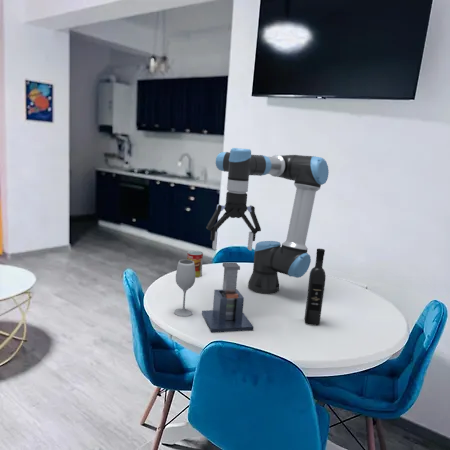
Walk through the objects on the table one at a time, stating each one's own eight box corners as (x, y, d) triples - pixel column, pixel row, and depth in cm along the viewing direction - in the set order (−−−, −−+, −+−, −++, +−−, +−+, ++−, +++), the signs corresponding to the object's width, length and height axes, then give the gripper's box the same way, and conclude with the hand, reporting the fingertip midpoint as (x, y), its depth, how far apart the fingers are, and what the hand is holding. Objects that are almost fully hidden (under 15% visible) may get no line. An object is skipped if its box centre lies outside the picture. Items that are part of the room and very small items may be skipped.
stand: (240, 312, 164) (242, 282, 161) (253, 330, 149) (256, 298, 146) (201, 314, 159) (203, 283, 157) (211, 332, 144) (213, 299, 142)
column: (231, 314, 157) (235, 262, 153) (235, 320, 152) (240, 266, 148) (218, 315, 155) (222, 262, 151) (222, 321, 150) (226, 266, 146)
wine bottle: (319, 326, 156) (329, 252, 151) (304, 324, 157) (314, 250, 151) (318, 320, 162) (327, 248, 156) (303, 318, 163) (312, 246, 157)
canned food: (185, 272, 208) (186, 250, 206) (200, 272, 210) (201, 250, 208) (187, 277, 200) (188, 254, 198) (202, 277, 202) (204, 254, 200)
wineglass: (196, 311, 162) (199, 260, 158) (188, 318, 155) (191, 266, 151) (178, 307, 164) (181, 257, 160) (170, 314, 157) (173, 262, 153)
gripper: (265, 192, 151) (260, 247, 155) (200, 189, 144) (196, 246, 148) (273, 195, 144) (267, 252, 148) (205, 191, 137) (201, 251, 141)
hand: (232, 249), depth 148 cm, fingers open, 13 cm apart
